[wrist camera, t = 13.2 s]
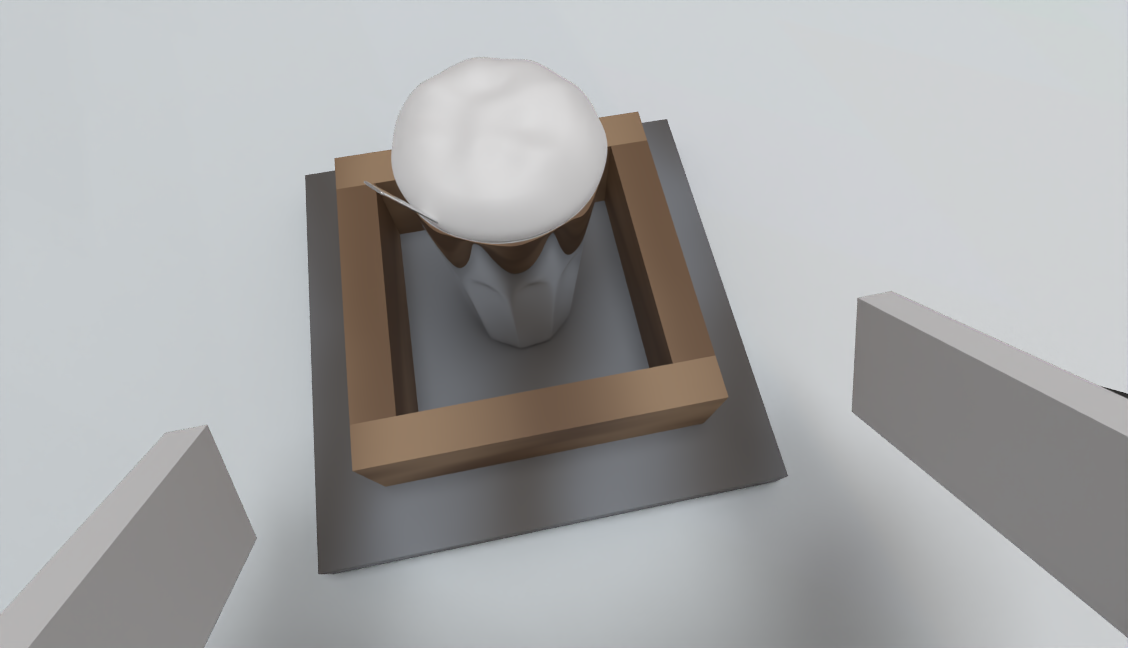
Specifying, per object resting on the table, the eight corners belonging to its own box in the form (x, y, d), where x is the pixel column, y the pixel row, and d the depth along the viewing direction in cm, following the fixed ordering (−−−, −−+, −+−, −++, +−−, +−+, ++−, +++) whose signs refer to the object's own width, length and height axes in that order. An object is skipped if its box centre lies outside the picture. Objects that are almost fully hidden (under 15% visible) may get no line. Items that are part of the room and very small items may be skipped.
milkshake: (411, 335, 19) (274, 122, 10) (511, 224, 21) (472, -45, 12) (519, 415, 18) (477, 258, 9) (615, 291, 20) (661, 54, 11)
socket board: (333, 573, 18) (269, 575, 14) (317, 194, 23) (268, 118, 19) (774, 481, 19) (829, 458, 15) (661, 139, 24) (681, 57, 20)
